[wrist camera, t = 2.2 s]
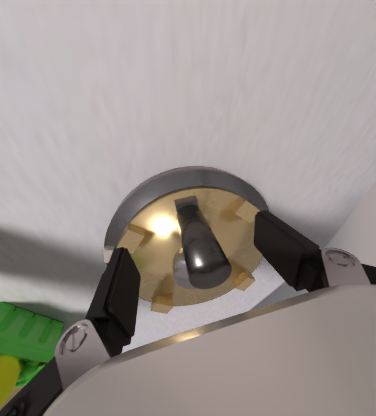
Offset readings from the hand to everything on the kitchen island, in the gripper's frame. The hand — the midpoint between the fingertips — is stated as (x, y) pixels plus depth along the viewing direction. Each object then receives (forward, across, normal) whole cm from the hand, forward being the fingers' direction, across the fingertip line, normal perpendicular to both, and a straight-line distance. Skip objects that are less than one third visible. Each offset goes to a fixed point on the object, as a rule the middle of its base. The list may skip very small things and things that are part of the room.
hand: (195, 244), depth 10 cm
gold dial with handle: (+6, 0, +7) cm, 9 cm away
